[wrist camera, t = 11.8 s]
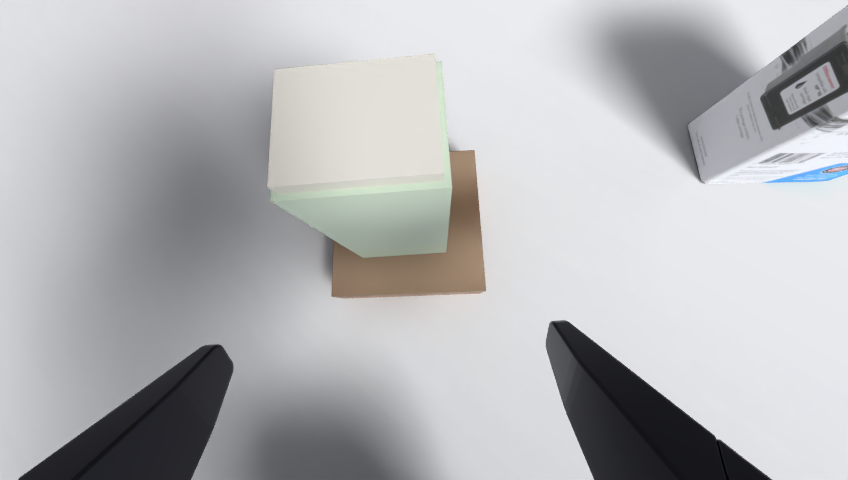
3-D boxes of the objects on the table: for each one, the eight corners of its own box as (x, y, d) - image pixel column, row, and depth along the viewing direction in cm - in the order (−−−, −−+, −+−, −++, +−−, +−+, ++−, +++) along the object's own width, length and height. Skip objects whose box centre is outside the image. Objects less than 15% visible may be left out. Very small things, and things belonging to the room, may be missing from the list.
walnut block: (478, 293, 20) (486, 290, 17) (346, 298, 20) (331, 296, 17) (469, 171, 22) (474, 150, 19) (349, 177, 23) (336, 157, 20)
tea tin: (446, 252, 18) (453, 179, 8) (363, 258, 18) (259, 195, 8) (441, 189, 19) (441, 47, 8) (362, 195, 19) (267, 64, 9)
